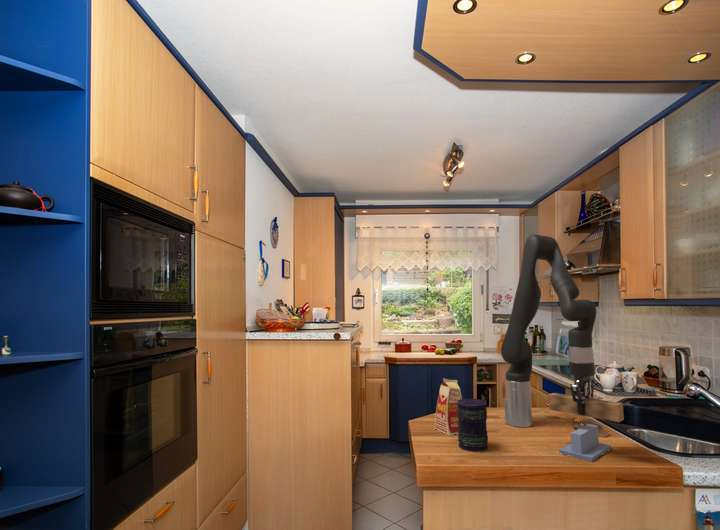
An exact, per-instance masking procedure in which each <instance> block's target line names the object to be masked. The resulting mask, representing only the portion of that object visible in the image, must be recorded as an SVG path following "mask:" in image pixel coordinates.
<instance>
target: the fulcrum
mask: <svg viewBox="0 0 720 530" xmlns="http://www.w3.org/2000/svg"><path fill="white" fill-rule="evenodd" d="M610 449H611V450H612V445H611V444H607V443H603V442H599V438H598V426H597V425H591V424H587V425H585V426H583V427H581V428H579V429H576V430H573V431H572V432H570V443H569V444H567V445H565V446H563V447H562V448H559V450H558V452H559V453H562V454H561V455H563V454H566V455H565V456H567V455H570V456H569V457H571V456H573V457H572V458H575V457H577V458H576V459H579V458H580V460H583V459H584V461H587V462H591V463H593V462H594V461H596V460H597V459H598V458H597V457H599V456H600V455H601V454H603V453H605V452H606V451H608V450H609V451H611V450H610ZM609 451H608V452H609ZM606 453H607V452H606ZM606 453H605V454H606ZM603 455H604V454H603ZM600 457H601V456H600ZM600 457H599V458H600ZM596 458H597V459H596ZM595 459H596V460H595ZM592 461H593V462H592Z"/></svg>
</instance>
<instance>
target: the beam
mask: <svg viewBox="0 0 720 530" xmlns="http://www.w3.org/2000/svg"><path fill="white" fill-rule="evenodd" d="M575 397H576V396H575ZM547 403H548V404H547V405H548V411H555V412H559V413H566V414H571V415H577V416H580V415H579V414H578V413H577V403H576V402H574V401H573V397H572V394H571V395H569V394H563V393H558V392H557V393H556V392H552V393H549V394H548V395H547ZM584 404H585V415H581V416H583V417H588V418H593V419H600V420H604V421H611V422H617V423H620V422H622V421H624V420H625V415H624V403H623V402H617V401H610V400H604V399H597V398H585V403H584Z"/></svg>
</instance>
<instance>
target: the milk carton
mask: <svg viewBox="0 0 720 530" xmlns="http://www.w3.org/2000/svg"><path fill="white" fill-rule="evenodd" d="M442 380H443V381H442V383H441V384H440V387H439V393H438V397H437V401H436V402H437V403H436V407H435V408H436V410H435V418H434V430H435V429H437V430H439V431H441V432H443V433H446V434H448V435H453V434H457V435H458V429H459V419H458V416H457V415H458V413H457V409H458V408H457V406H458V404H457V401H458V400H461V399H463V397H462V392H461V388H460V386H459V384H458V381H459V380H457V379H448V378H444V377H443V378H442ZM437 430H436V431H437ZM439 431H438V432H439ZM441 432H440V433H441ZM443 433H442V434H443ZM453 436H454V435H453Z"/></svg>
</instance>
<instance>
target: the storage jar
mask: <svg viewBox="0 0 720 530" xmlns="http://www.w3.org/2000/svg"><path fill="white" fill-rule="evenodd" d="M457 404H458V406H457V408H458V409H457V413H458V415H457V416H458V419H459V429H458V434H457V440H458V447H459V449H460V450H463V451H467V452H473V453H477V452H478V453H479V452H480V453H481V452H485V451H487V450H488V448H489V446H488V441H489V436H488V430H487V420H488V416H487V415H488V410H487V401H485V400H482V399H477V398H462V399H461V400H458V401H457Z"/></svg>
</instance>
